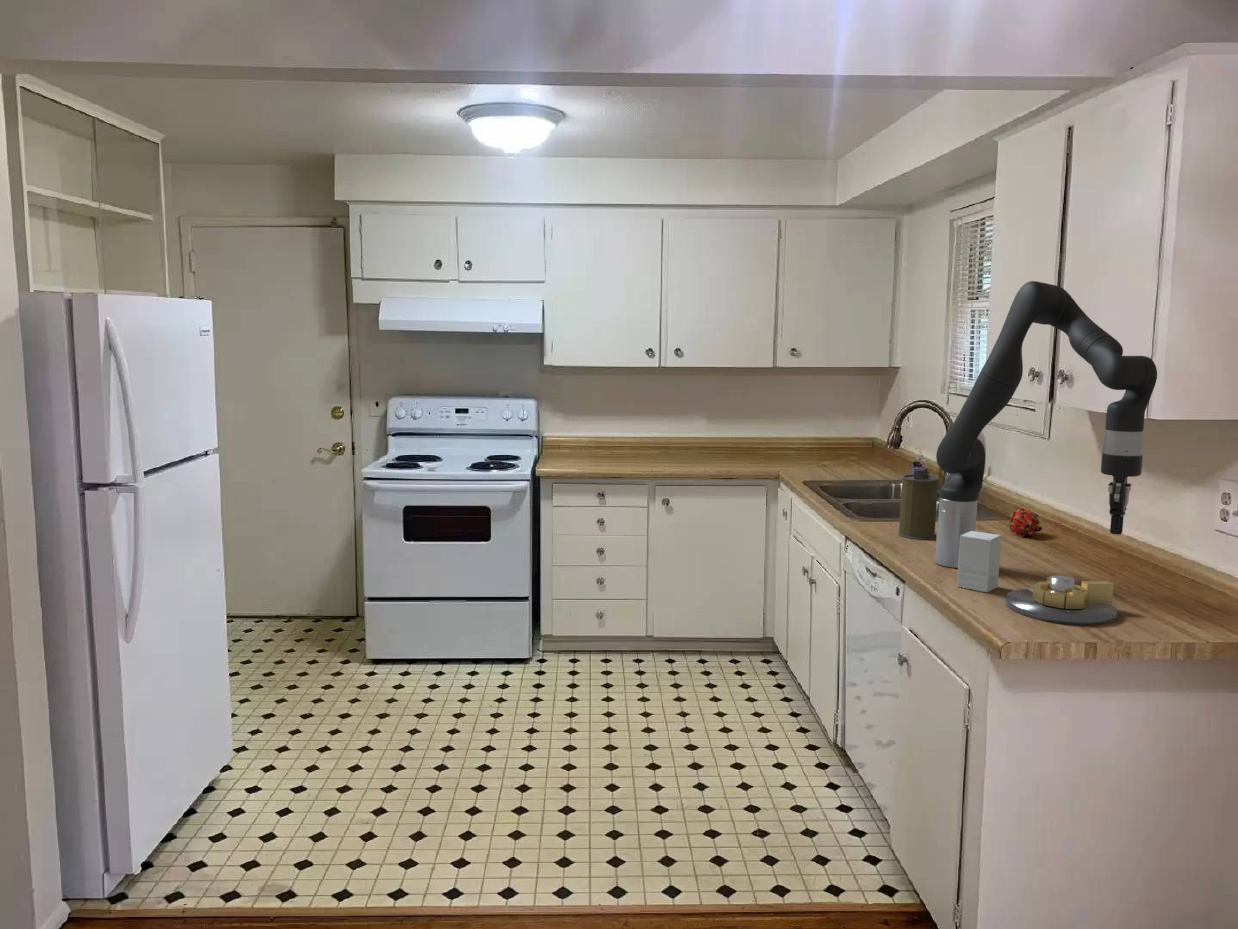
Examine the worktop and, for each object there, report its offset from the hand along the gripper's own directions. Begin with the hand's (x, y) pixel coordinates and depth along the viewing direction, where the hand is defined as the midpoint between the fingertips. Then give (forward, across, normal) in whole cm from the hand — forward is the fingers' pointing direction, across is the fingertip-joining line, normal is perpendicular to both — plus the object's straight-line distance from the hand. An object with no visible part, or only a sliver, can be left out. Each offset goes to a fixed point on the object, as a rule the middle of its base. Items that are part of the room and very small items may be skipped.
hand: (1116, 533), depth 197 cm
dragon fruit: (+17, +75, +29) cm, 83 cm away
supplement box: (+18, +8, +29) cm, 35 cm away
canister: (+17, +56, +55) cm, 80 cm away
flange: (+18, 0, +10) cm, 20 cm away
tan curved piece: (+16, +2, +7) cm, 18 cm away
